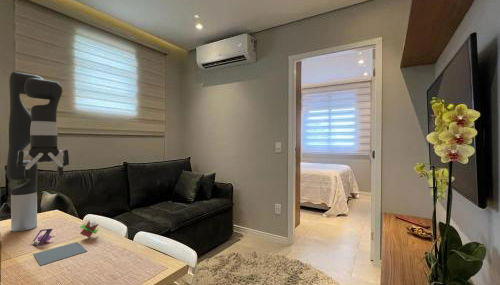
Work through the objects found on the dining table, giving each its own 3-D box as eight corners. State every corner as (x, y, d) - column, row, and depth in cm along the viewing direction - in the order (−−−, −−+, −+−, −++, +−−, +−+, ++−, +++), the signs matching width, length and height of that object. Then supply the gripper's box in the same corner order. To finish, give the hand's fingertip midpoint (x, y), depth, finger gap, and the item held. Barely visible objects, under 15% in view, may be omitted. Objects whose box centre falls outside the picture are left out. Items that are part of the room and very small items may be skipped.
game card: (39, 244, 95) (27, 245, 98) (52, 248, 98) (40, 249, 102) (50, 228, 99) (38, 229, 103) (62, 232, 102) (50, 233, 106)
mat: (33, 254, 90) (33, 253, 90) (77, 242, 101) (77, 241, 101) (40, 265, 82) (40, 265, 82) (87, 251, 93) (87, 250, 93)
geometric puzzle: (77, 241, 101) (77, 223, 101) (82, 235, 108) (82, 218, 108) (96, 239, 104) (96, 221, 104) (100, 233, 110) (100, 216, 110)
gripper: (65, 134, 95) (65, 175, 95) (15, 134, 84) (15, 179, 84) (70, 134, 90) (71, 177, 90) (18, 133, 79) (19, 182, 79)
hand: (44, 178), depth 87 cm, fingers open, 8 cm apart
